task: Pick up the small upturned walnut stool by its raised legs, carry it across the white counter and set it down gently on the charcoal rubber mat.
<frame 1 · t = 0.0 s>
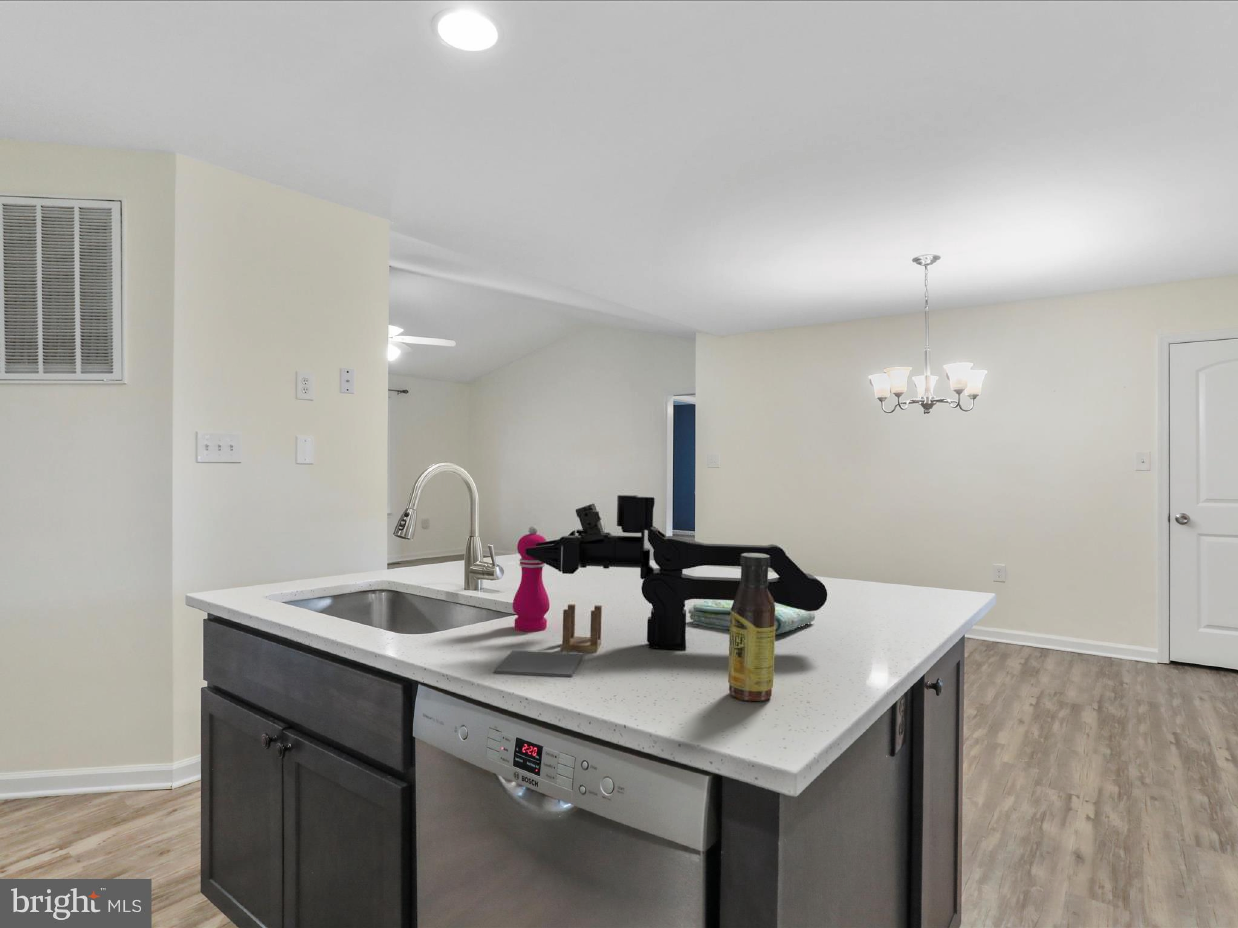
hand: (531, 548, 128), 17 cm above the worktop, tool horizontal, fingers open, 9 cm apart
towel: (751, 626, 146), on the worktop
pepper mill: (530, 628, 136), on the worktop
sauce bottle: (750, 697, 97), on the worktop
mat: (540, 664, 111), on the worktop
stool: (581, 647, 122), on the worktop
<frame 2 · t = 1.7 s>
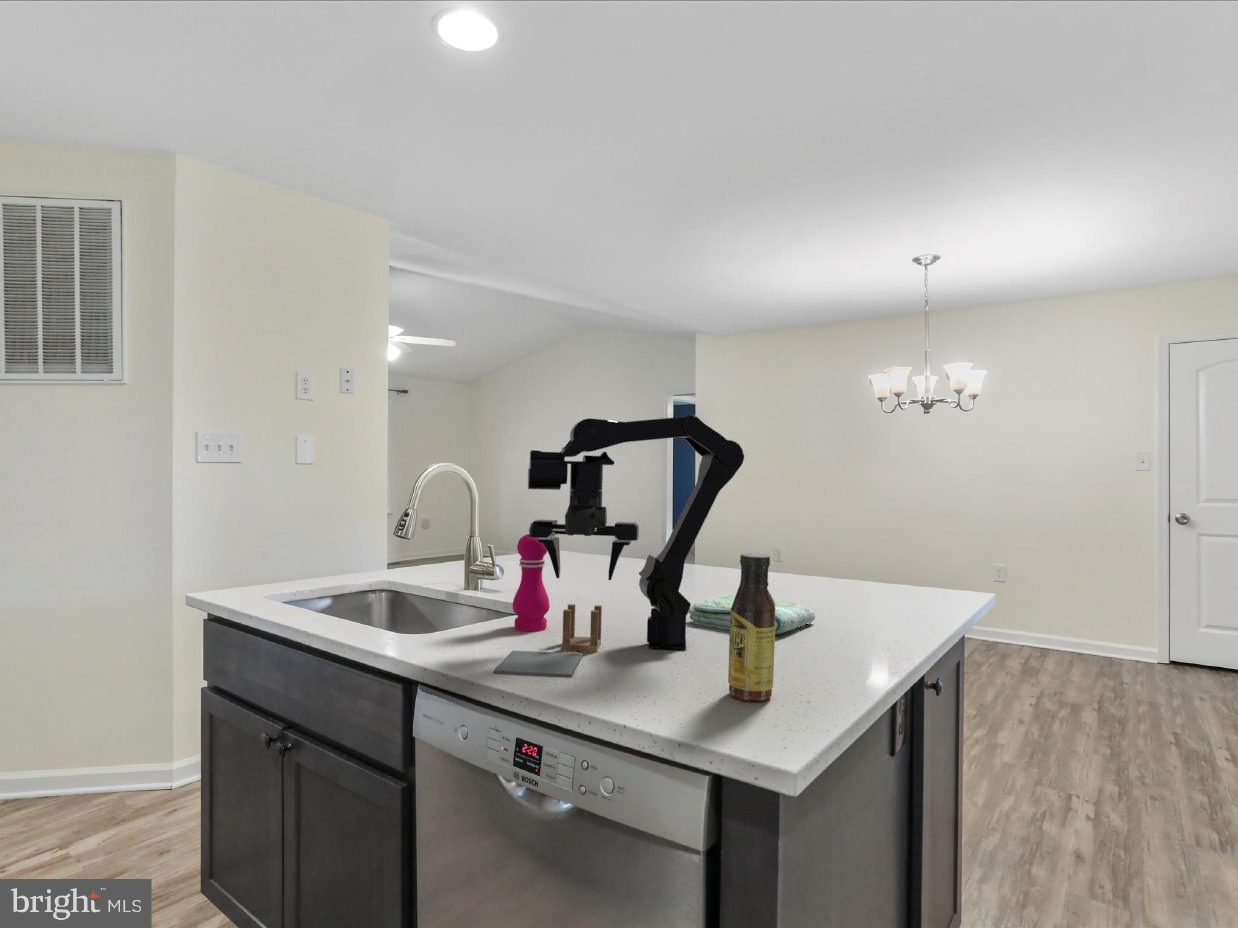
hand: (583, 579, 123), 12 cm above the worktop, tool pointing down, fingers open, 9 cm apart
nothing on the worktop moved.
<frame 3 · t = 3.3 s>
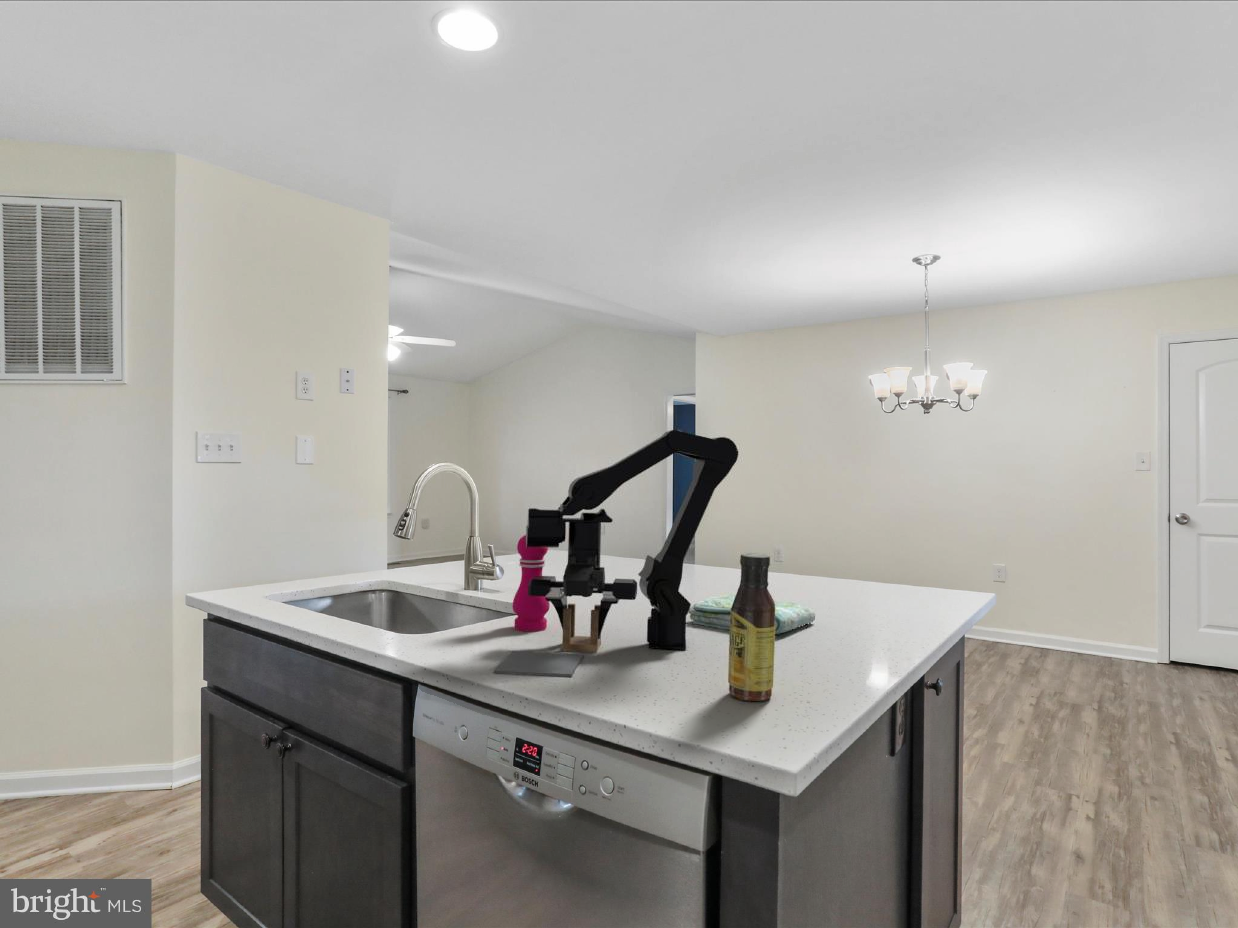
hand: (582, 636, 122), 2 cm above the worktop, tool pointing down, fingers closed on stool, 5 cm apart
stool: (582, 647, 122), on the worktop, touching gripper
everything else where it was.
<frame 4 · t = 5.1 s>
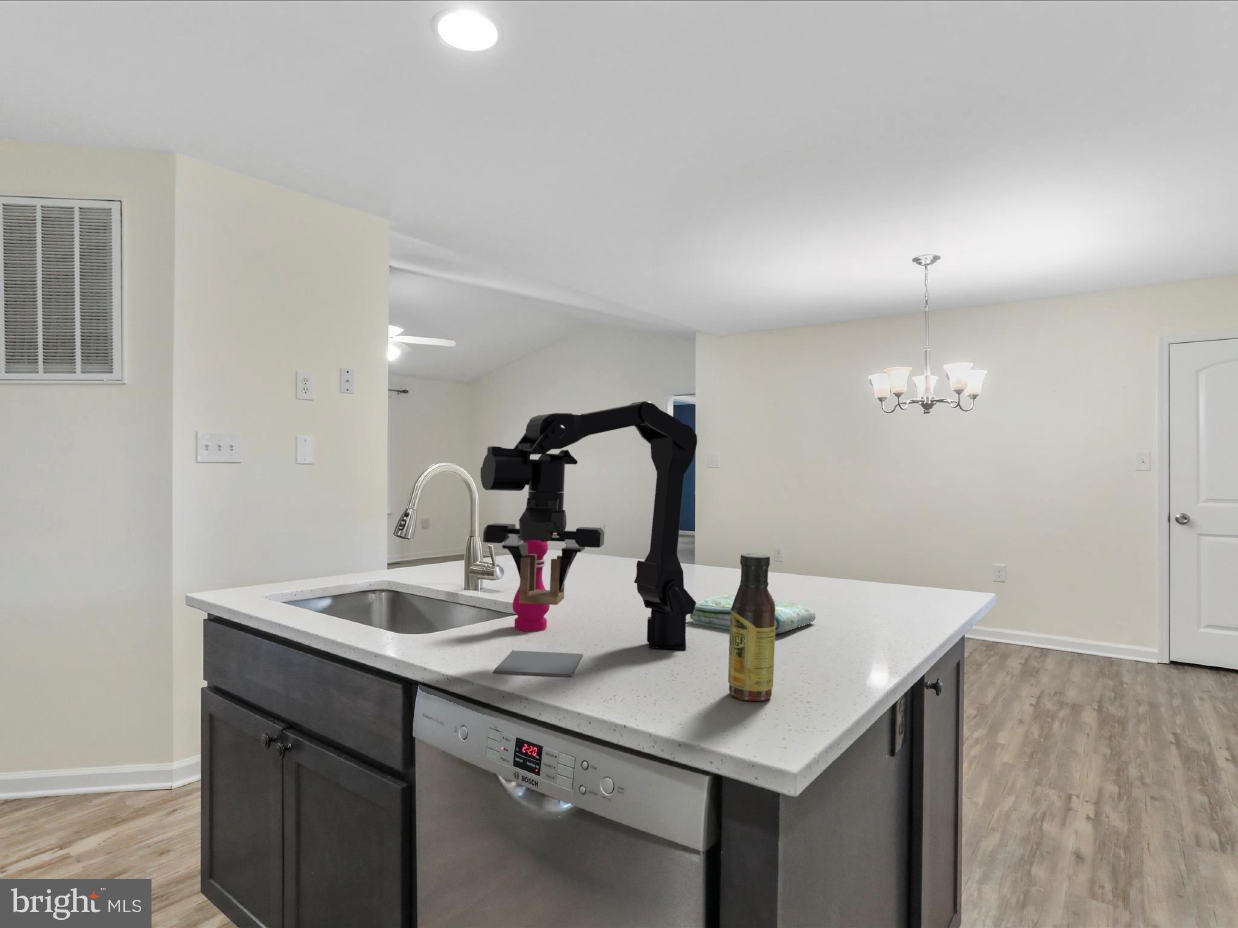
hand: (542, 589, 112), 12 cm above the worktop, tool pointing down, fingers closed on stool, 5 cm apart
stool: (542, 600, 112), point 10 cm above the worktop, touching gripper
everything else where it was.
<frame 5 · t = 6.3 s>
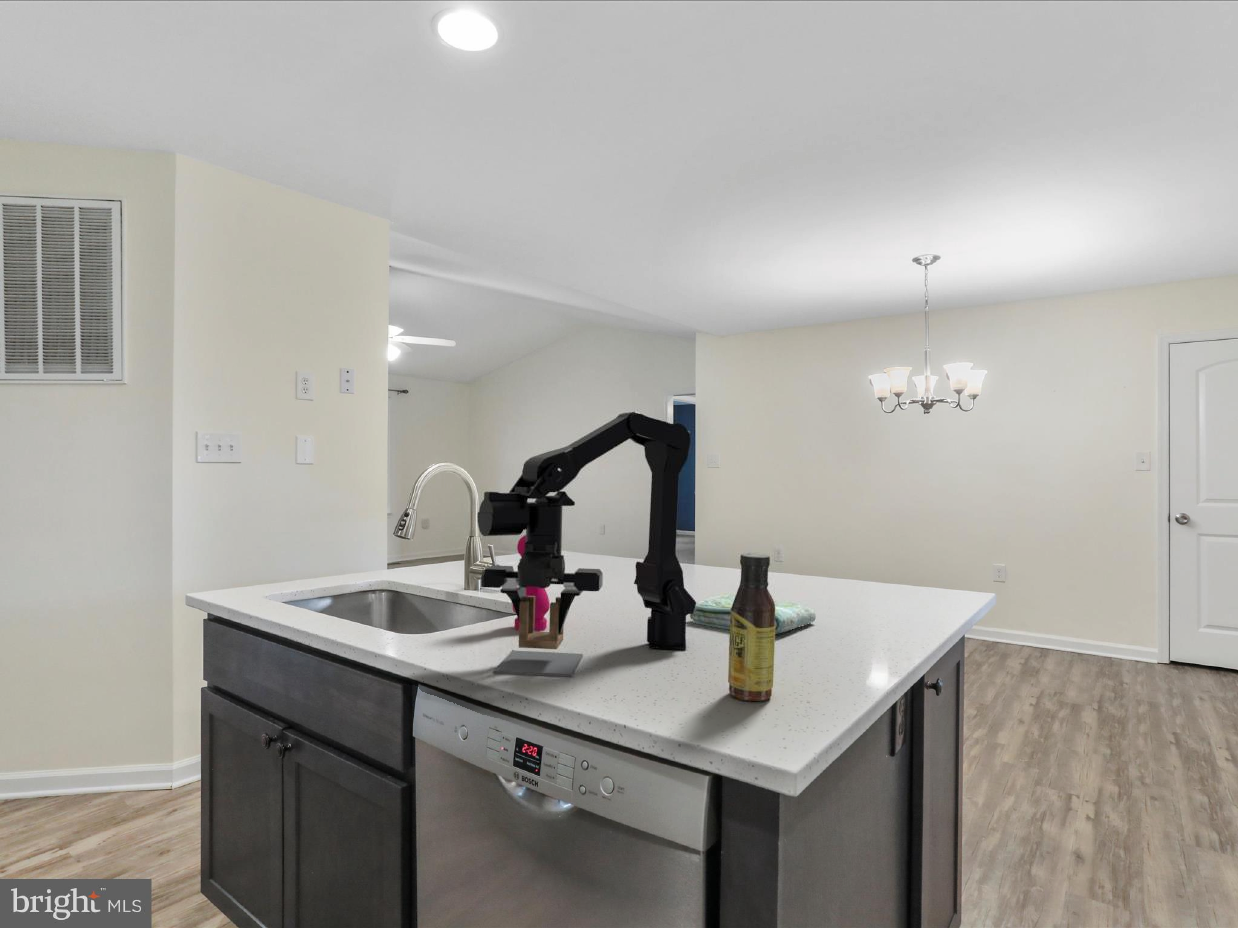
hand: (541, 632, 111), 5 cm above the worktop, tool pointing down, fingers closed on stool, 5 cm apart
stool: (541, 643, 111), point 3 cm above the worktop, touching gripper
everything else where it was.
when the fingers open (3 cm above the worktop, at t = 7.2 s): stool stays where it is, resting on mat.
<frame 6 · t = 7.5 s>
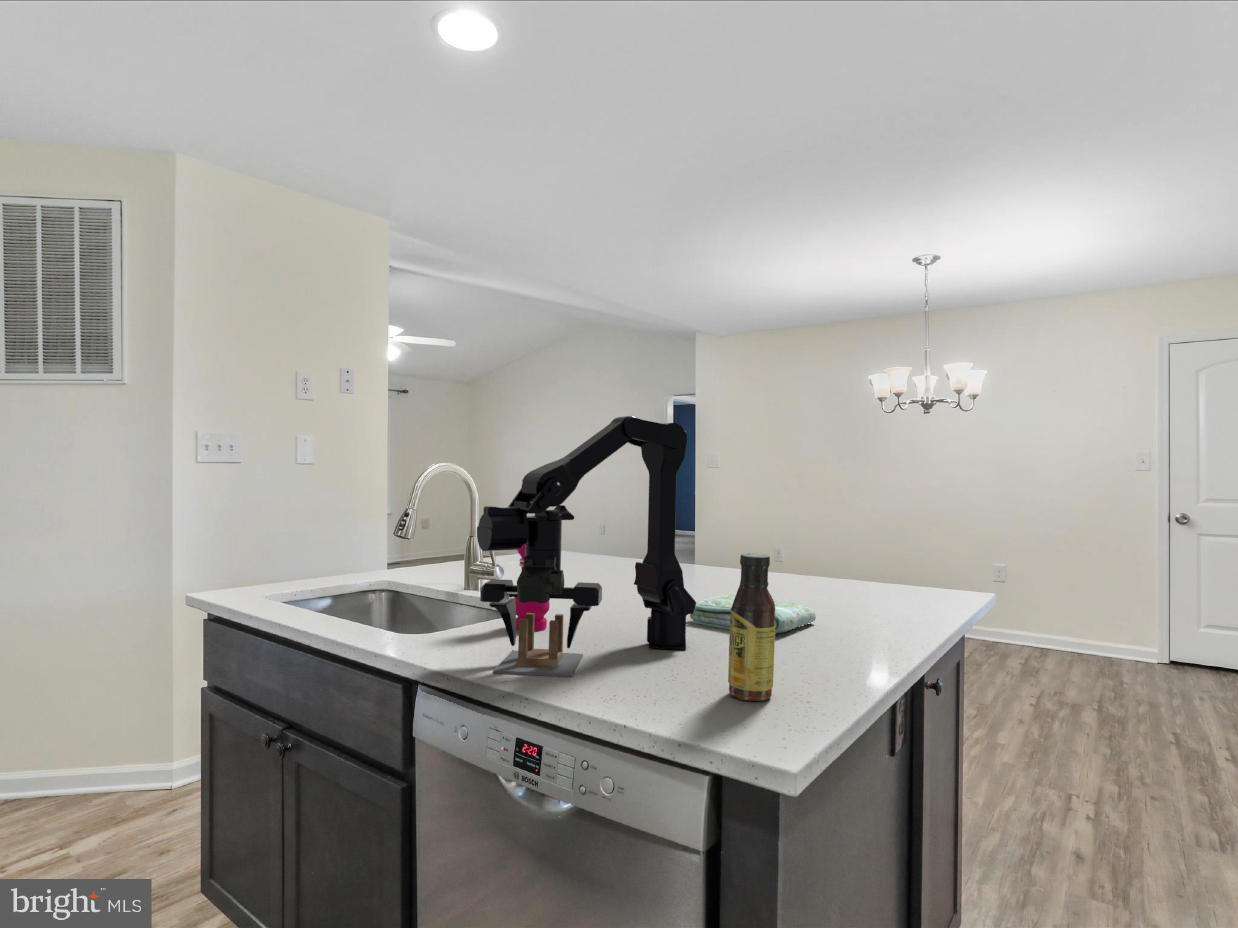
hand: (540, 646, 111), 3 cm above the worktop, tool pointing down, fingers open, 9 cm apart
stool: (540, 661, 111), resting on mat
everything else where it was.
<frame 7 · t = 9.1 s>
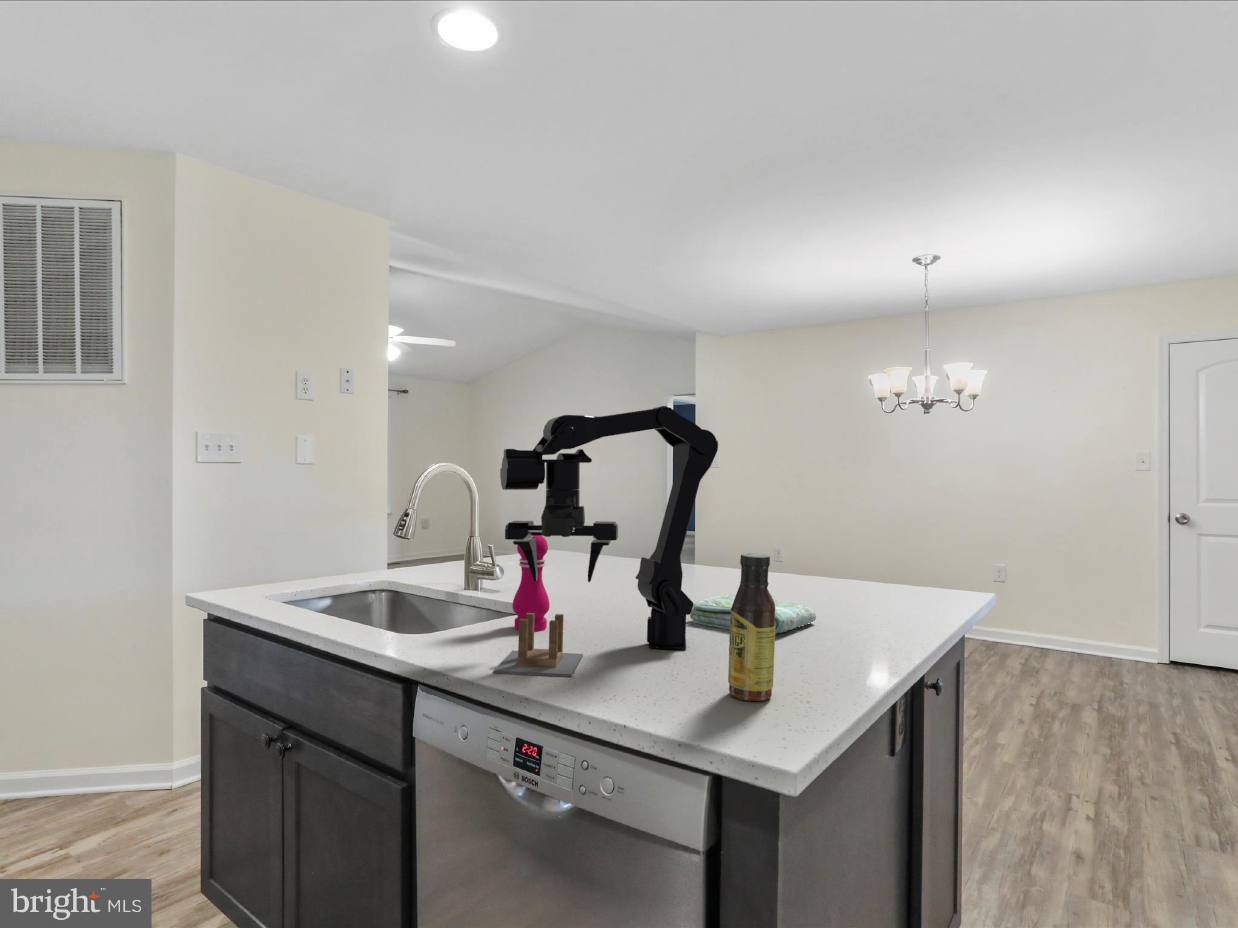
hand: (562, 581, 118), 12 cm above the worktop, tool pointing down, fingers open, 9 cm apart
nothing on the worktop moved.
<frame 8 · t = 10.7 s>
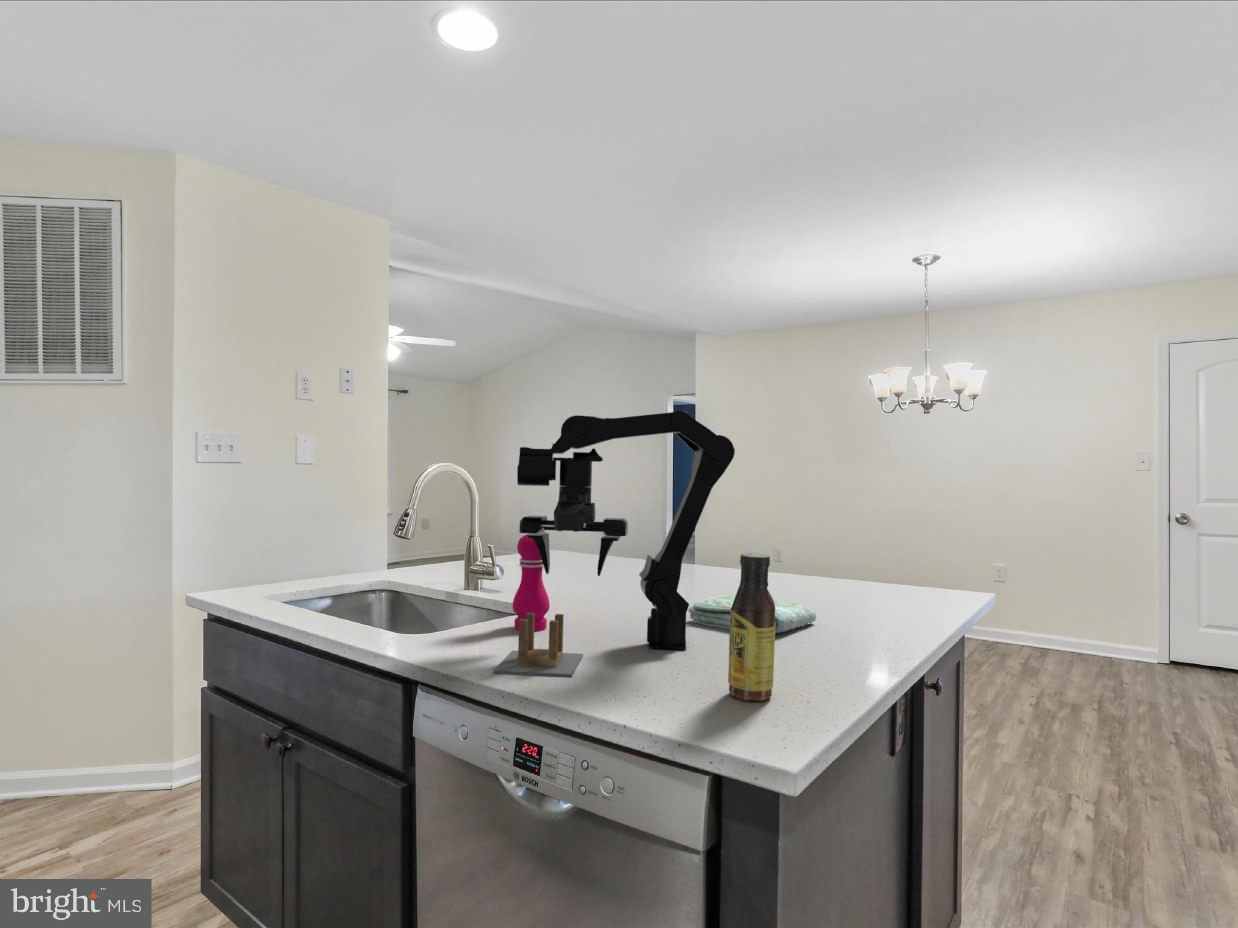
hand: (573, 574, 124), 13 cm above the worktop, tool pointing down, fingers open, 9 cm apart
nothing on the worktop moved.
at the end: stool inside the target area on the mat (0.2 cm from its centre), point 0.4 cm above the mat's base; stool tilted 0°; the gripper is holding nothing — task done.
